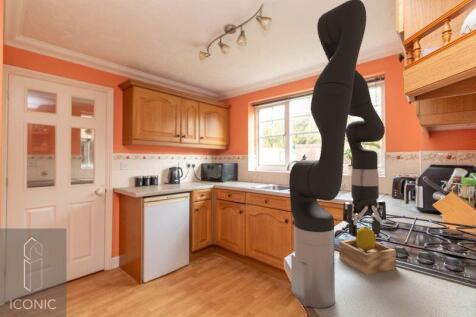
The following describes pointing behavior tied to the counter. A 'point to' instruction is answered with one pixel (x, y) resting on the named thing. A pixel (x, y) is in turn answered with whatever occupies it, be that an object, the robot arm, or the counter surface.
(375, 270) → the oak box
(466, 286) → the counter surface
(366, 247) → the lemon
